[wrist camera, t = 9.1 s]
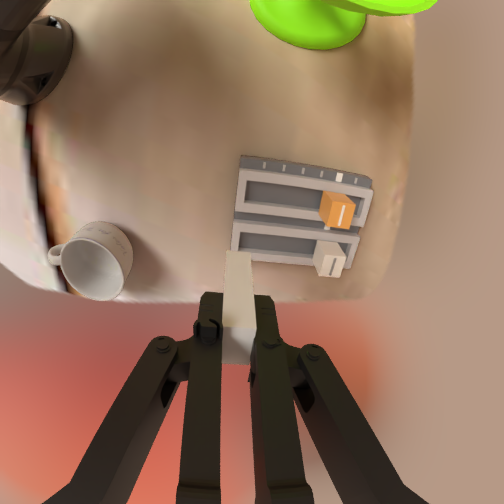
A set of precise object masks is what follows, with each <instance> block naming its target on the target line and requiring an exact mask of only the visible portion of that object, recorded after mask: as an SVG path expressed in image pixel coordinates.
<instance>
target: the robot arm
mask: <svg viewBox="0 0 504 504" xmlns="http://www.w3.org/2000/svg"><path fill="white" fill-rule="evenodd" d="M50 1H51V0H0V100H3V101H5V102H8V103H11V104H14V105H27V104H33V103H36V102H38V101H40V100H42V99H43V98H44V97H46V96H47V95H48V94H49V93H50V92H51V91H52V90H53V89H54V88H55V86H56V85H57V84H58V82H59V81H60V79H61V78H62V76H63V74H64V72H65V70H66V68H67V65H68V63H69V60H70V56H71V52H72V46H73V36H72V31H71V28H70V26H69V24H68V23H67V22H66V21H65V20H63V19H61V18H58V17H55V16H51V15H45V16H39V17H36V16H37V15H38V14H39V13H40V11H41V10H42V9H43V8H44V7H45V6H46V5H47V4H48V3H49V2H50ZM193 333H194V335H193V336H192V337H191V338H189V339H187V340H183V341H177V342H176V341H175V340H174V339H172V338H170V337H168V336H159V337H156V338H154V339H153V340H152V341H151V342H150V343H149V344H148V346H147V348H146V349H145V351H144V353H143V354H142V356H141V357H140V359H139V361H138V362H137V364H136V366H135V367H134V369H133V371H132V372H131V374H130V376H129V377H128V379H127V381H126V382H125V384H124V386H123V387H122V389H121V391H120V392H119V394H118V396H117V398H116V399H115V401H114V403H113V405H112V406H111V408H110V410H109V411H108V413H107V415H106V417H105V418H104V420H103V422H102V424H101V425H100V427H99V429H98V431H97V433H96V434H95V436H94V438H93V440H92V442H91V444H90V446H89V447H88V449H87V451H86V453H85V455H84V456H83V458H82V460H81V462H80V464H79V466H78V468H77V470H76V472H75V473H74V476H73V477H72V479H71V481H70V483H69V484H67V485H66V486H65V487H63V488H62V489H61V490H60V491H58V492H57V493H56V494H54V495H53V496H52V497H50V498H49V499H48V500H46V501H45V502H44V503H42V504H126V503H127V501H128V499H129V497H130V495H131V492H132V490H133V488H134V485H135V483H136V481H137V478H138V476H139V474H140V472H141V469H142V467H143V465H144V462H145V460H146V458H147V456H148V454H149V451H150V449H151V447H152V445H153V442H154V440H155V438H156V435H157V433H158V431H159V429H160V426H161V424H162V422H163V420H164V418H165V416H166V413H167V411H168V409H169V407H170V404H171V402H172V400H173V397H174V395H175V393H176V391H177V389H178V387H179V385H180V382H181V381H187V380H188V386H187V395H186V405H185V414H184V424H183V435H182V447H181V459H180V474H179V483H178V486H177V493H176V504H221V489H220V415H221V414H220V413H221V371H222V364H239V365H249V364H250V365H251V368H250V374H249V378H248V382H250V397H251V418H252V435H253V436H252V437H253V454H254V473H255V491H256V498H255V504H314V498H313V492H312V489H311V487H310V485H308V483H307V482H306V479H305V473H304V466H303V460H302V452H301V445H300V439H299V432H298V426H297V419H296V413H295V407H294V401H295V403H296V405H297V408H298V410H299V412H300V414H301V416H302V418H303V421H304V423H305V425H306V427H307V429H308V431H309V434H310V436H311V438H312V440H313V442H314V444H315V446H316V448H317V450H318V453H319V455H320V457H321V459H322V461H323V463H324V465H325V467H326V469H327V471H328V474H329V476H330V478H331V480H332V482H333V484H334V486H335V488H336V490H337V492H338V494H339V496H340V498H341V500H342V502H343V504H429V503H427V502H426V501H424V500H423V499H422V498H421V497H420V496H418V495H417V494H416V493H414V492H413V491H412V490H410V489H409V488H408V487H406V486H405V485H404V484H403V482H402V481H401V479H400V477H399V475H398V474H397V472H396V470H395V468H394V467H393V465H392V463H391V461H390V460H389V458H388V456H387V454H386V453H385V451H384V449H383V448H382V446H381V444H380V442H379V441H378V439H377V437H376V436H375V434H374V432H373V431H372V429H371V427H370V425H369V424H368V422H367V420H366V418H365V417H364V415H363V413H362V412H361V410H360V408H359V407H358V405H357V403H356V401H355V400H354V398H353V397H352V395H351V393H350V391H349V390H348V388H347V386H346V385H345V383H344V382H343V380H342V378H341V376H340V375H339V373H338V371H337V370H336V368H335V366H334V365H333V363H332V361H331V359H330V358H329V356H328V354H327V353H326V351H325V350H324V349H323V348H322V347H320V346H318V345H315V344H307V345H304V346H303V347H302V348H301V349H300V348H297V347H293V346H290V345H288V344H286V343H285V342H284V341H283V339H282V338H281V337H280V335H279V329H278V323H277V317H276V311H275V305H274V301H273V300H272V299H271V297H270V296H266V295H254V290H253V278H252V266H251V253H250V252H241V251H229V250H227V251H226V262H225V273H224V285H223V293H216V292H205V293H204V294H203V295H202V297H201V300H200V307H199V313H198V320H196V321H195V323H194V325H193ZM293 399H294V401H293Z"/></svg>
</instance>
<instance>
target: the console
mask: <svg viewBox="0 0 504 504" xmlns="http://www.w3.org/2000/svg"><path fill="white" fill-rule="evenodd" d="M371 183H372V179H370V178H369V177H367V176H364V175H360V174H355V173H350V172H346V171H341V170H336V169H330V168H325V167H320V166H314V165H308V164H302V163H296V162H290V161H283V160H276V159H269V158H261V157H253V156H244V155H241V159H240V167H239V175H238V183H237V192H236V201H235V209H234V218H233V227H232V237H231V246H230V251H241V252H250V253H251V260H253V261H264V262H275V263H286V264H297V265H309V266H314V263H313V261H312V259H313V255H314V252H313V251H314V247H315V244H316V241H317V240H321V241H330V242H337V243H338V244H339V246H340V247H341V249H342V251H343V252H344V254H345V255H346V260H345V263H344V266H343V268H344V269H350V267H351V264H352V261H353V258H354V255H355V252H356V249H357V246H358V243H359V240H360V236H359V235H358V234H357V233H358V230H359V227H364V224H365V221H366V217H367V214H368V210H369V207H370V203H371V200H372V196H373V192H374V191H373V190H371V189H370V187H371ZM323 191H329V192H335V193H341V194H345V195H346V196H347V197H348V198H349V199H350V200H351V201H352V202H354V203H355V204H356V206H355V210H354V214H353V217H352V221H351V225H350V228H349V229H343V228H336V227H328V226H326V225H325V223H324V222H323V220H322V219H321V217H320V216H319V214H318V212H319V208H320V206H319V204H320V200H321V195H322V193H323Z"/></svg>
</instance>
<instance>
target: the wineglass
mask: <svg viewBox="0 0 504 504" xmlns="http://www.w3.org/2000/svg"><path fill="white" fill-rule="evenodd" d="M436 2H437V0H250V6H251V9H252V11H253V13H254V15H255V17H256V19H257V20H258V21H259V22H260V23H261V24H262V25H263V26H264V28H265V29H266V30H267V31H269V32H270V33H272V34H273V35H275V36H276V37H278V38H279V39H281V40H283V41H285V42H288V43H290V44H292V45H294V46H299V47H303V48H307V49H320V50H327V49H332V48H337V47H341V46H343V45H345V44H347V43H349V42H351V41H352V40H353V39H354V38H355V37H356V36H357V35H358V34H360V32H361V30H362V28H363V26H364V24H365V18H366V14H370V15H375V16H401V15H408V14H414V13H417V12H420V11H423V10H426V9H429V8H430V7H431V6H432V5H433V4H434V3H436Z"/></svg>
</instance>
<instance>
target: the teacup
mask: <svg viewBox="0 0 504 504" xmlns="http://www.w3.org/2000/svg"><path fill="white" fill-rule="evenodd" d="M60 253H61V254H60ZM58 254H60V256H56V255H58ZM48 258H49V261H50V263H51V264H53V265H61V269H62V271H63V274H64V276H65V278H66V279H67V281H68V282H69V283H70V285H71V286H72V287H73V288H74V289H75V290H77V291H78V292H79V293H81V294H82V295H84V296H86V297H88V298H90V299H93V300H97V301H108V300H112V299H114V298H116V297H117V296H118V295H119V294H120V293H121V291H122V289H123V287H124V283H125V281H126V279H127V277H128V275H129V272H130V270H131V267H132V263H133V250H132V246H131V244H130V242H129V240H128V238H127V237H126V235H125V234H124V233H123V232H122V231H121V230H120V229H119V228H117V227H116V226H114V225H112V224H110V223H106V222H100V221H98V222H92V223H89V224H87V225H85V226H84V227H82V228H81V229H80V230H79V231H78V232H77V233H76V234H75V235H74V236H73V237H72V238H71V239H70V240H69V241H68V242H67V243H66V244H60V245H57V246H54V247H52V248H51V249H50V251H49V253H48Z"/></svg>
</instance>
